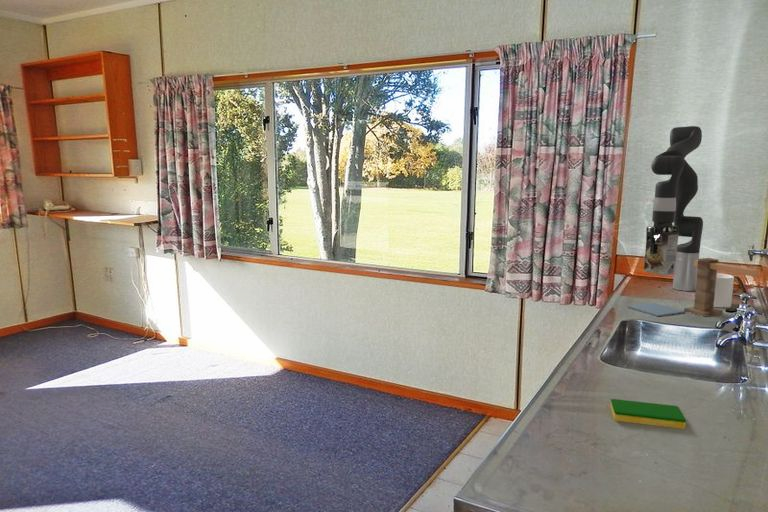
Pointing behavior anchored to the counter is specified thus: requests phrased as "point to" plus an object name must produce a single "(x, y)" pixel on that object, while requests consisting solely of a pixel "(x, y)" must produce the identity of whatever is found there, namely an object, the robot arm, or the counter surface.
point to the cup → (723, 290)
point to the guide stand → (705, 289)
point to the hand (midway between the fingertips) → (660, 253)
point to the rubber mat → (656, 309)
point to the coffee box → (662, 254)
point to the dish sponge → (647, 413)
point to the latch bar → (731, 268)
